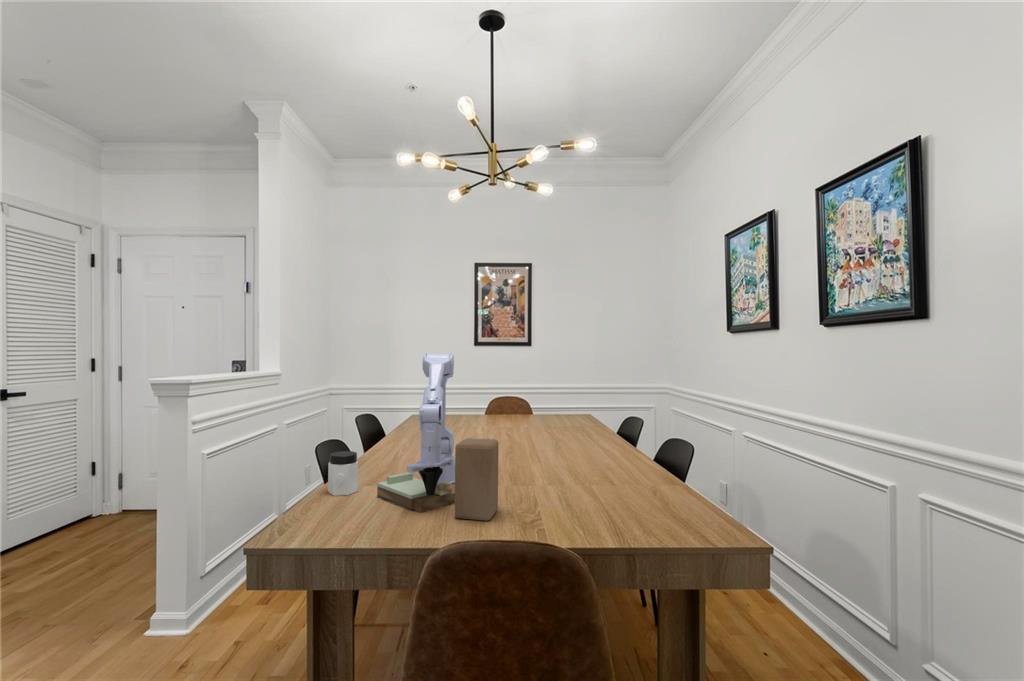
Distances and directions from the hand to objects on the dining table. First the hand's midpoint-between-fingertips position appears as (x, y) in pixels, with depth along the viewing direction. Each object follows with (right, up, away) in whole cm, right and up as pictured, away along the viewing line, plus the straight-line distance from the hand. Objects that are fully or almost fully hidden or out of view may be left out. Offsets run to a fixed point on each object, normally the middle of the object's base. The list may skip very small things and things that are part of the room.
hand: (430, 494), depth 145 cm
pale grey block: (+3, -1, +3) cm, 5 cm away
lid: (-7, -1, +8) cm, 11 cm away
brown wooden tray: (-4, -4, +9) cm, 11 cm away
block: (+14, -4, -5) cm, 15 cm away
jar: (-30, -4, +15) cm, 33 cm away
